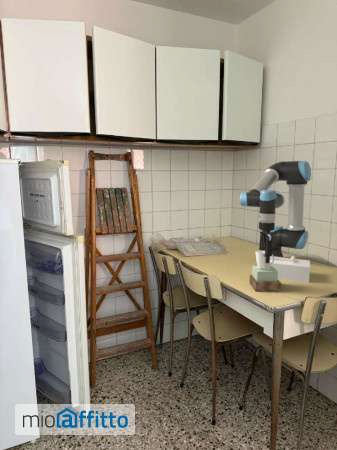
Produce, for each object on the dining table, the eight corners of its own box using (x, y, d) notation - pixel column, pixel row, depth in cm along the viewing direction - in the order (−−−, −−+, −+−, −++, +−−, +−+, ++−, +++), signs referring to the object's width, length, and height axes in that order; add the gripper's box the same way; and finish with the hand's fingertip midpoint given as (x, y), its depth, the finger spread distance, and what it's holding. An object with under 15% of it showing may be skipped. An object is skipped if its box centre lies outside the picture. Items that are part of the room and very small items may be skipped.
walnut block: (272, 283, 162) (273, 274, 161) (280, 292, 150) (280, 282, 149) (249, 283, 162) (249, 274, 161) (255, 292, 150) (255, 282, 149)
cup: (251, 266, 157) (252, 250, 156) (269, 265, 159) (270, 249, 158) (258, 269, 151) (259, 253, 150) (277, 268, 153) (277, 252, 152)
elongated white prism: (308, 282, 163) (310, 263, 161) (260, 276, 173) (261, 257, 171) (308, 275, 176) (310, 256, 174) (263, 269, 186) (264, 252, 184)
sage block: (271, 275, 160) (271, 265, 160) (277, 281, 150) (278, 271, 150) (251, 274, 161) (252, 265, 160) (256, 281, 151) (257, 271, 150)
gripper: (254, 218, 161) (252, 261, 165) (264, 224, 142) (262, 272, 145) (268, 219, 161) (266, 261, 164) (281, 224, 142) (278, 273, 145)
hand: (264, 266), depth 155 cm, fingers closed on cup, 6 cm apart
